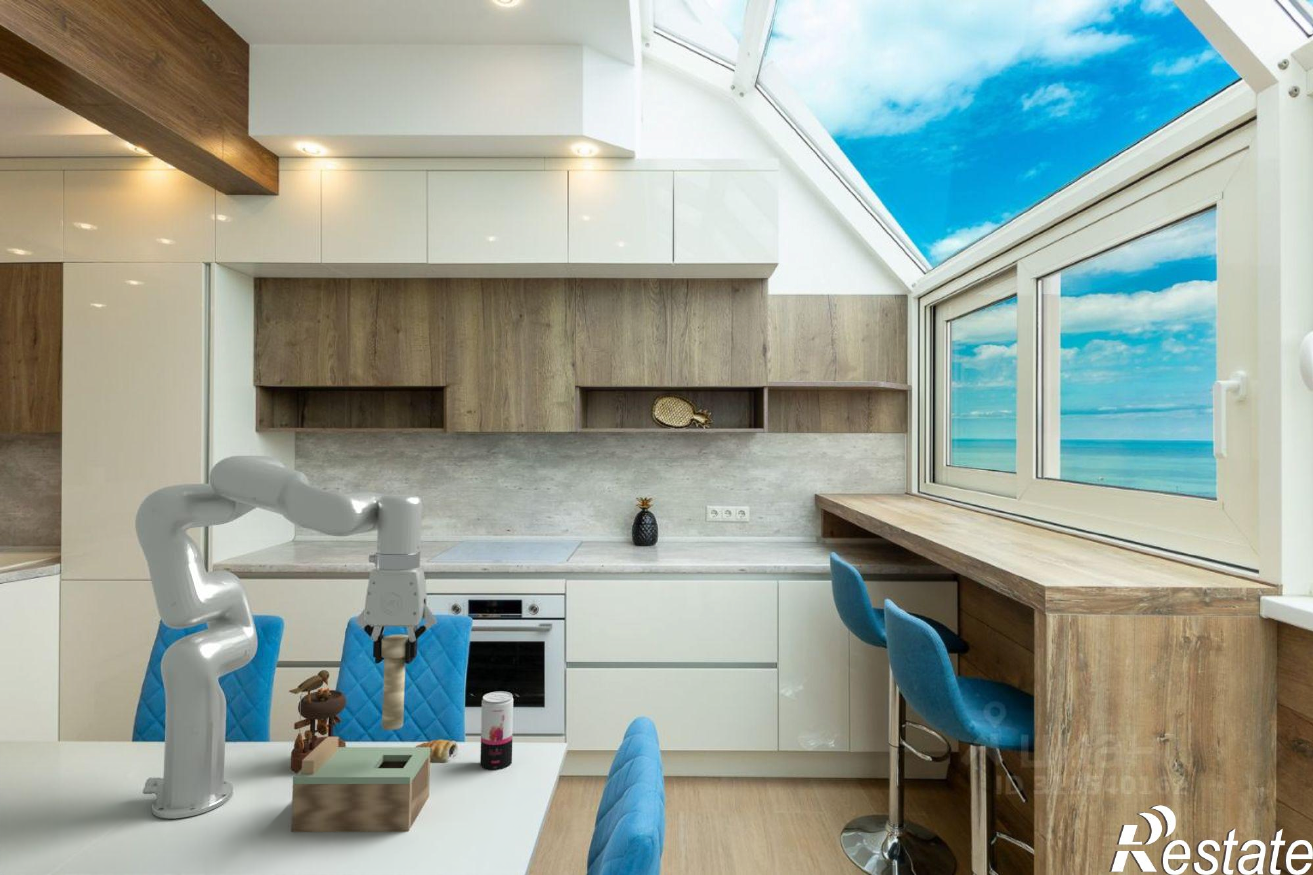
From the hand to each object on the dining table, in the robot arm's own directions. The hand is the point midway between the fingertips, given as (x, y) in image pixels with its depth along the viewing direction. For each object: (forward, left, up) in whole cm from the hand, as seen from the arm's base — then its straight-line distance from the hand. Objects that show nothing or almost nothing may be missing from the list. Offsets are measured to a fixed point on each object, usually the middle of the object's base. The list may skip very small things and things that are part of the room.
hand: (394, 660), depth 123 cm
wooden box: (-5, 0, -29) cm, 29 cm away
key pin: (0, 0, -12) cm, 12 cm away
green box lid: (-5, 0, -19) cm, 20 cm away
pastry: (+1, +25, -29) cm, 38 cm away
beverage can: (+15, +20, -29) cm, 38 cm away
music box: (-23, +23, -29) cm, 43 cm away
